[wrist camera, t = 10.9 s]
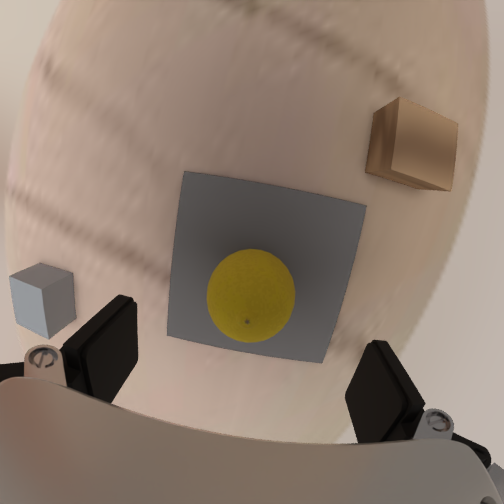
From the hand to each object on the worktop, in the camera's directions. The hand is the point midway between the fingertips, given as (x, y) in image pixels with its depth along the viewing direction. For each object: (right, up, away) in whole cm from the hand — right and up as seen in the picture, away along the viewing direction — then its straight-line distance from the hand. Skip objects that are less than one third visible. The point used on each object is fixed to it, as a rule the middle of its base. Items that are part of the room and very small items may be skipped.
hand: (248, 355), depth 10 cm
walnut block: (+12, +12, +9) cm, 19 cm away
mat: (+1, +2, +12) cm, 12 cm away
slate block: (-20, 0, +14) cm, 24 cm away
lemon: (0, +2, +12) cm, 12 cm away
